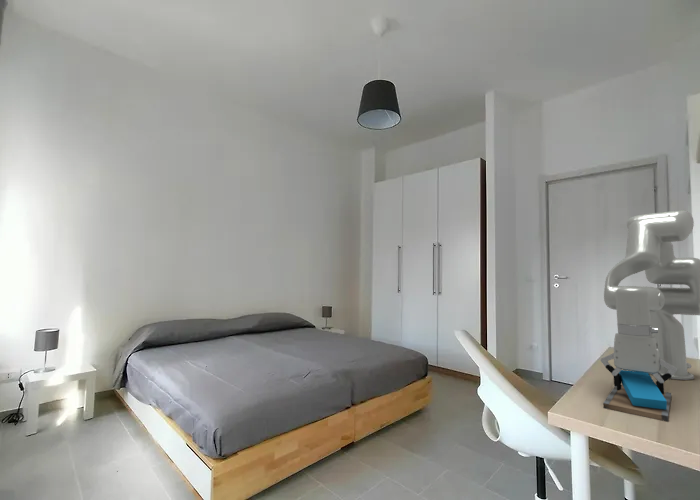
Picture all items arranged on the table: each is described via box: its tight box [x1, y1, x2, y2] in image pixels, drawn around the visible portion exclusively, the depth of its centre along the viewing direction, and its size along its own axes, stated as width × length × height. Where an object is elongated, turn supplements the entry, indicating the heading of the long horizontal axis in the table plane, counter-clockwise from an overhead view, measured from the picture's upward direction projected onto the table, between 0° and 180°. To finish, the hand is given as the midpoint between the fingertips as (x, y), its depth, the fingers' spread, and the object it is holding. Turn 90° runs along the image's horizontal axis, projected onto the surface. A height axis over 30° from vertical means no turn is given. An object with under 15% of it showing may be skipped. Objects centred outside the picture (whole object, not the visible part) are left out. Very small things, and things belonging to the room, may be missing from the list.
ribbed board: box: [603, 384, 673, 422], centre depth 98 cm, size 24×13×1 cm, turn 136°
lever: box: [619, 369, 667, 410], centre depth 98 cm, size 7×7×18 cm
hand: (638, 392), depth 98 cm, fingers closed on lever, 8 cm apart
